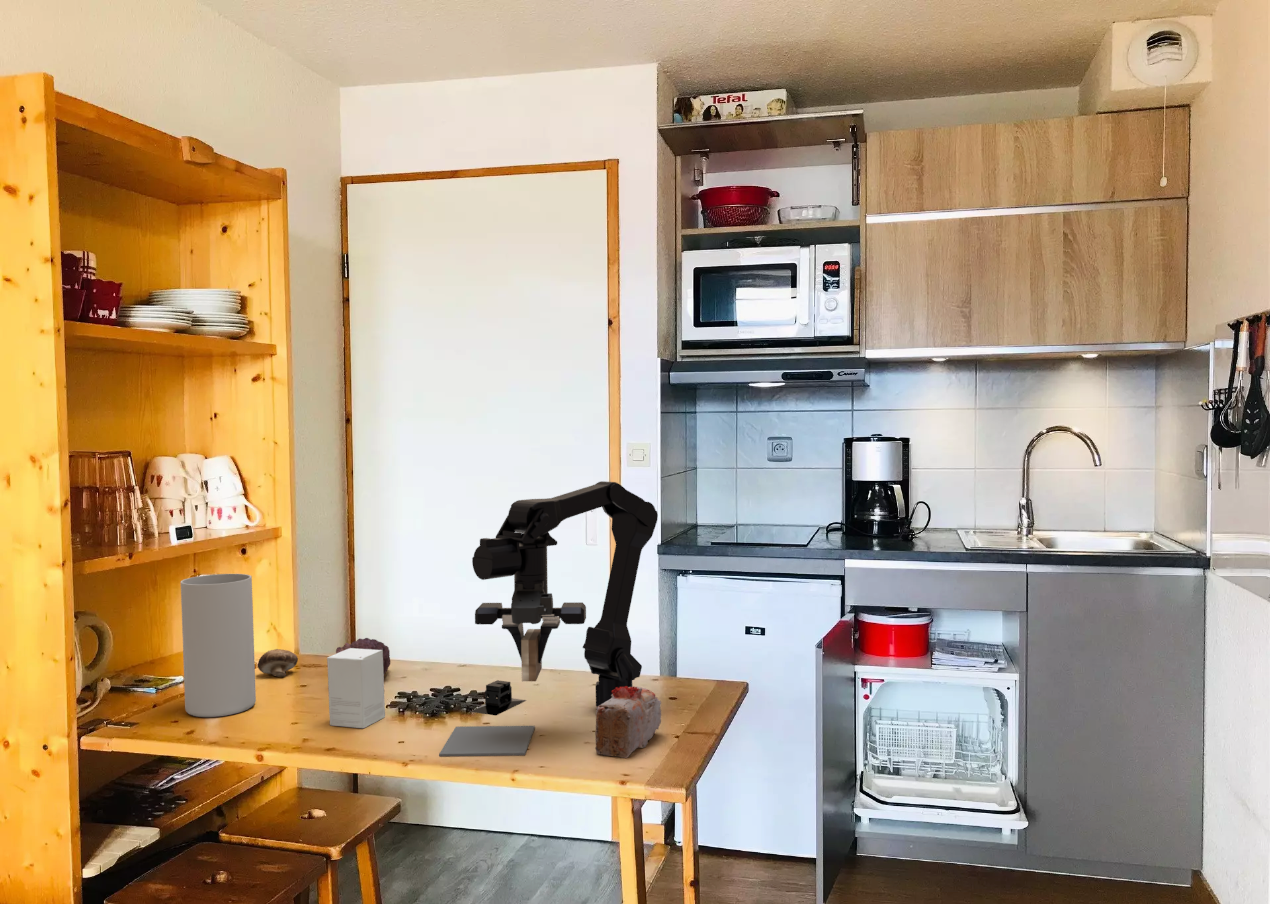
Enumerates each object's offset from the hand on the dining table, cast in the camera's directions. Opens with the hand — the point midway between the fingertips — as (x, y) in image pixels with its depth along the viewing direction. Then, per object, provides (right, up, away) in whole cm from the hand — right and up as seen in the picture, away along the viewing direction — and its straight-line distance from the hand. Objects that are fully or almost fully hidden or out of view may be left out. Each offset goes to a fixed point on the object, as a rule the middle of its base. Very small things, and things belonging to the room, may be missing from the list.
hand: (531, 662), depth 172 cm
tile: (0, -2, 0) cm, 2 cm away
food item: (+17, -13, -6) cm, 22 cm away
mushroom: (-59, -12, +42) cm, 74 cm away
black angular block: (-8, -13, +17) cm, 23 cm away
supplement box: (-33, -13, +9) cm, 36 cm away
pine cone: (-38, -12, +36) cm, 54 cm away
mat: (-7, -13, -3) cm, 15 cm away
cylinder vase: (-62, -13, +18) cm, 66 cm away
